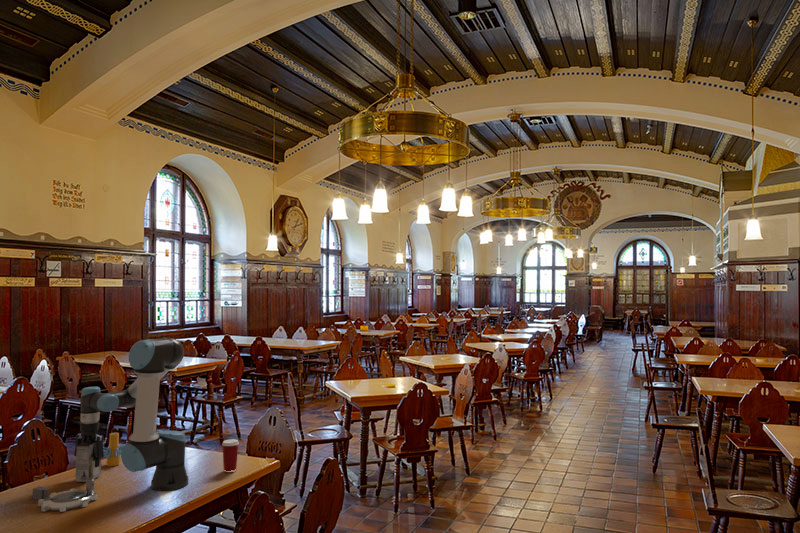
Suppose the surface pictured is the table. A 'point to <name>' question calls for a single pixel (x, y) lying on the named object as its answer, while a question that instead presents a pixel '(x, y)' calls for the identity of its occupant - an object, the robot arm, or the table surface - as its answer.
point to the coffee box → (85, 462)
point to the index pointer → (40, 493)
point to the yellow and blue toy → (113, 450)
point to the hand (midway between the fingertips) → (88, 473)
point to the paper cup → (230, 454)
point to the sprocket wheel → (69, 498)
